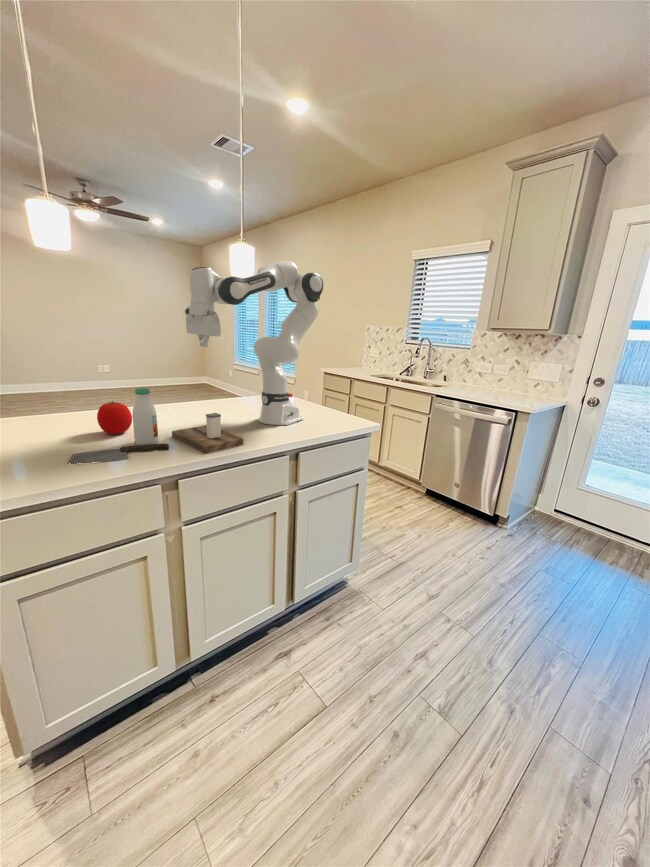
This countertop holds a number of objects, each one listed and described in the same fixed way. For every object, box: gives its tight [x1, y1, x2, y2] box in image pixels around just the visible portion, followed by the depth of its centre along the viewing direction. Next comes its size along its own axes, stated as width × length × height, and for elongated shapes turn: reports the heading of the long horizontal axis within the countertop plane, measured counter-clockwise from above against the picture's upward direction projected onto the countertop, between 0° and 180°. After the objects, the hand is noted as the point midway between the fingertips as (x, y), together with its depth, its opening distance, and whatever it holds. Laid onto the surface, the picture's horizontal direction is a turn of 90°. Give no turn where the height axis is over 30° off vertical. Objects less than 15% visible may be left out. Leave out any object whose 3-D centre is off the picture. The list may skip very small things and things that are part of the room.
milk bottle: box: [132, 387, 159, 445], centre depth 127 cm, size 8×8×20 cm
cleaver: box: [67, 442, 170, 465], centre depth 117 cm, size 29×10×2 cm, turn 122°
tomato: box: [96, 401, 133, 435], centre depth 136 cm, size 12×12×13 cm
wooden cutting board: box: [171, 424, 244, 455], centre depth 136 cm, size 16×24×2 cm, turn 49°
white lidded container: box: [205, 412, 222, 439], centre depth 131 cm, size 4×3×9 cm
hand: (203, 346), depth 144 cm, fingers closed
